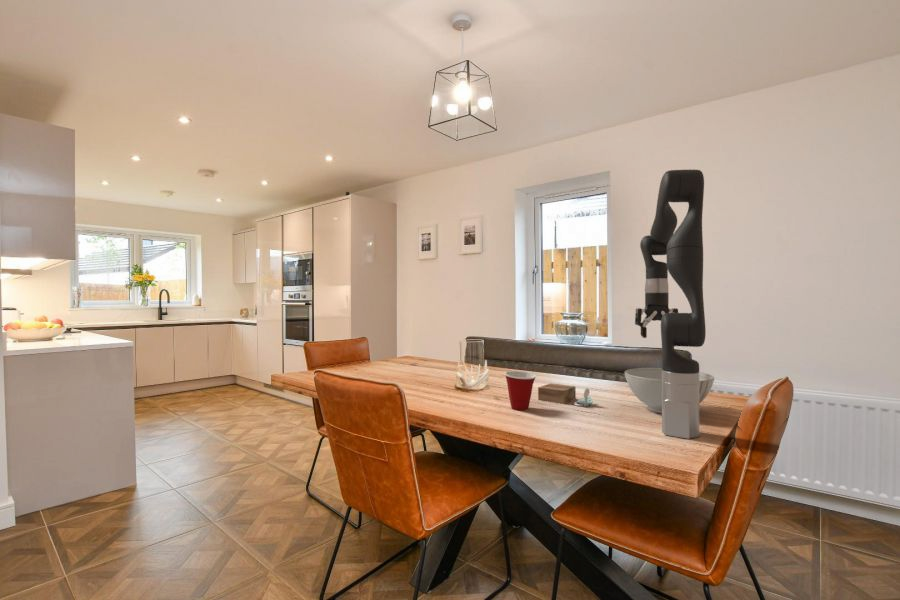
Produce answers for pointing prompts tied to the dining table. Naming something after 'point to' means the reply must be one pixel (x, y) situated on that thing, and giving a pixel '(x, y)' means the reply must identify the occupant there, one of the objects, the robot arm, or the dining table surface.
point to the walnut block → (557, 393)
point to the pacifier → (584, 399)
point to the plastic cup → (519, 388)
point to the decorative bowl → (659, 386)
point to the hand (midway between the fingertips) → (656, 337)
